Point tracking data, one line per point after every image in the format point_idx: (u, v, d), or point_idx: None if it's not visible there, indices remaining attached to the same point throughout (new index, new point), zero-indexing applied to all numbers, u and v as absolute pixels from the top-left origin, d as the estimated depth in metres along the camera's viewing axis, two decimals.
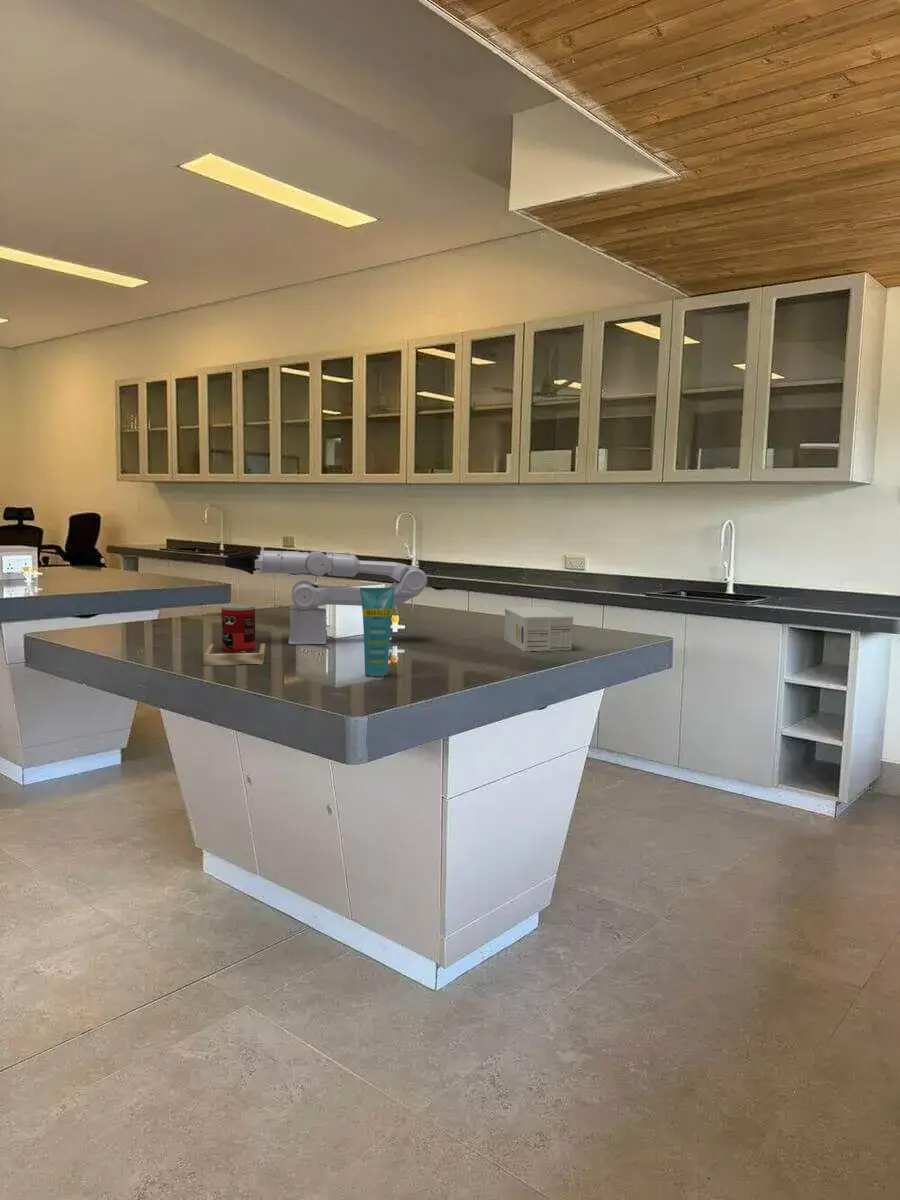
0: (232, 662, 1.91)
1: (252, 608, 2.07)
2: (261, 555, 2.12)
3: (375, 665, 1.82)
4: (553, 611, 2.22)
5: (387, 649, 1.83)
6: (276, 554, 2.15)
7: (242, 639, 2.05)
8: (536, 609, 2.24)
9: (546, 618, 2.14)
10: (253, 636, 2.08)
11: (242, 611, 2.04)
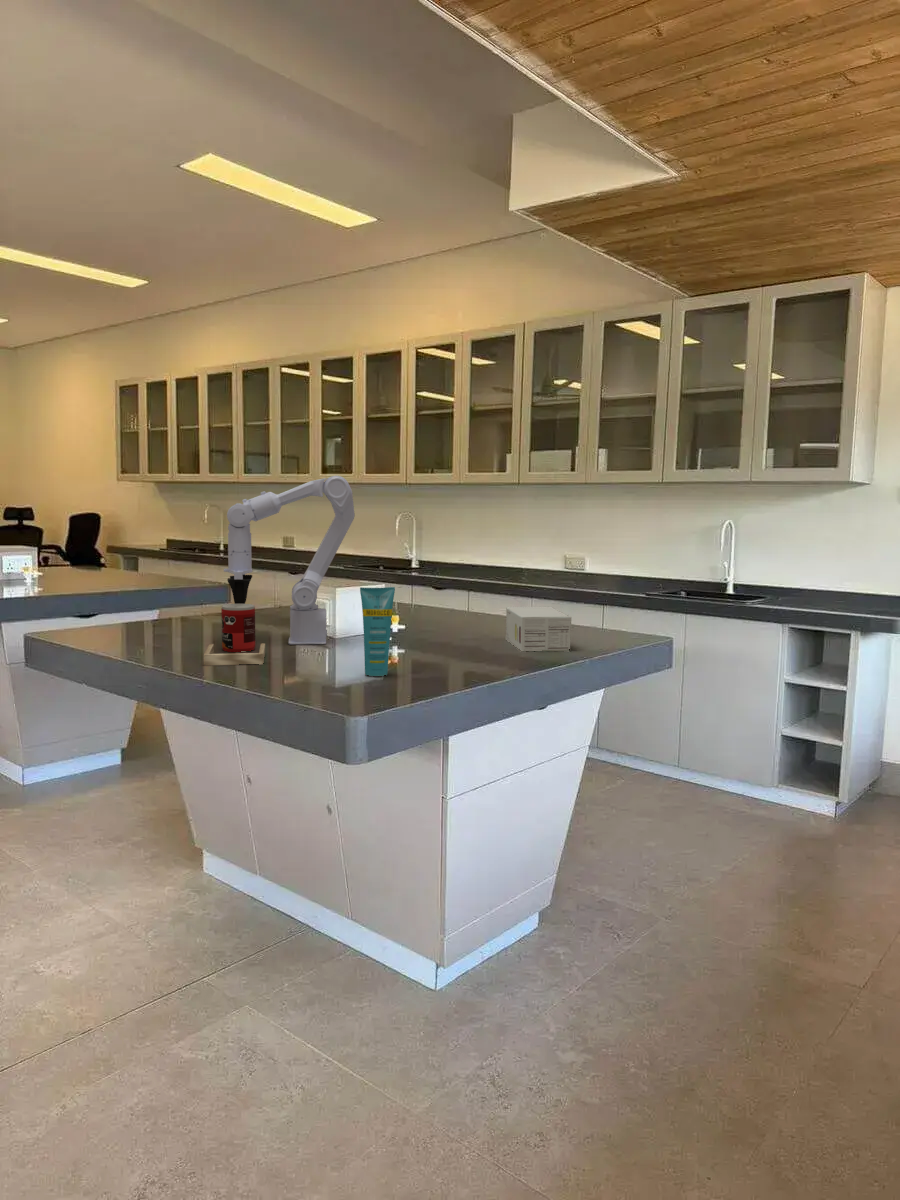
0: (232, 662, 1.91)
1: (252, 608, 2.07)
2: (231, 572, 2.11)
3: (375, 665, 1.82)
4: (553, 611, 2.22)
5: (387, 649, 1.83)
6: (230, 557, 2.13)
7: (242, 639, 2.05)
8: (537, 609, 2.24)
9: (544, 618, 2.13)
10: (253, 636, 2.08)
11: (242, 611, 2.04)
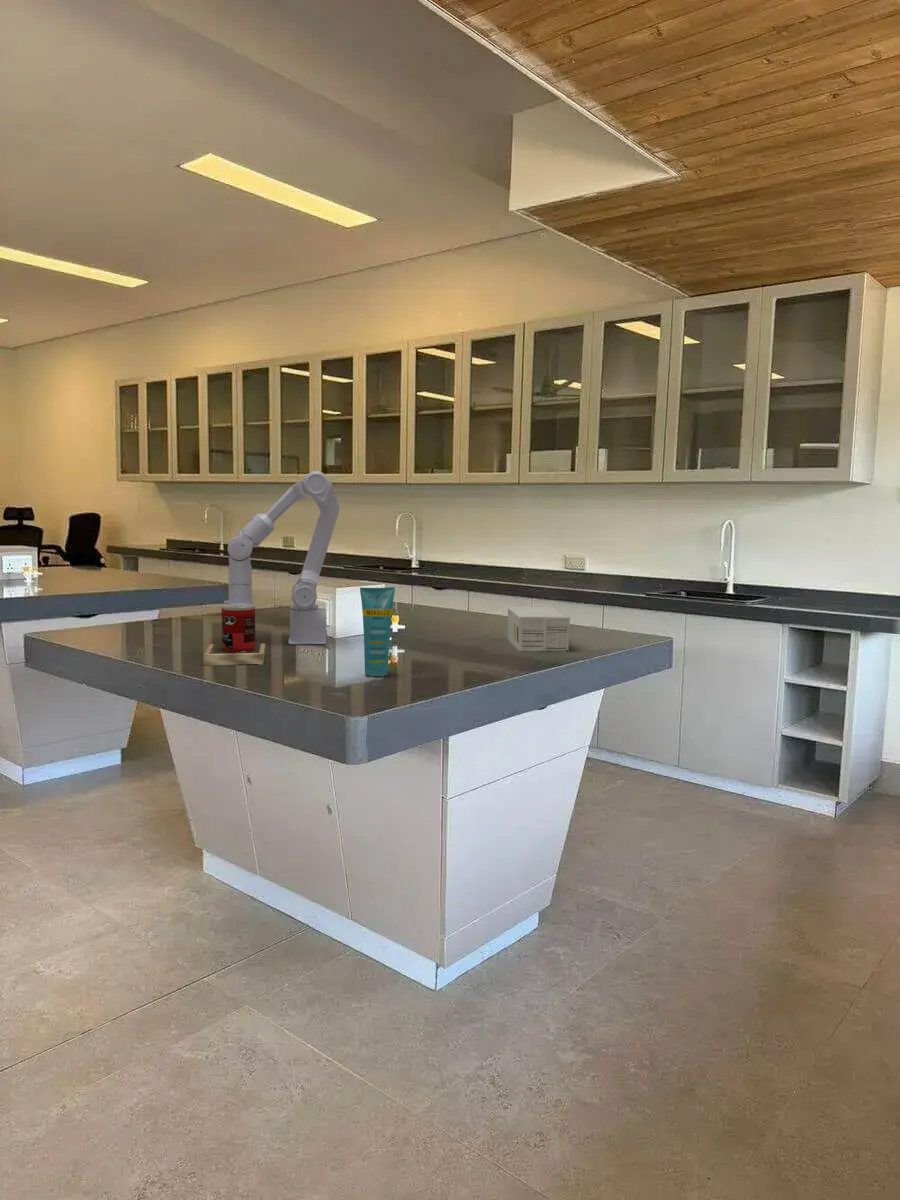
0: (232, 662, 1.91)
1: (252, 608, 2.07)
2: None
3: (375, 665, 1.82)
4: (553, 611, 2.21)
5: (387, 649, 1.83)
6: (231, 589, 2.14)
7: (242, 639, 2.05)
8: (537, 609, 2.24)
9: (541, 618, 2.13)
10: (253, 636, 2.08)
11: (242, 611, 2.04)
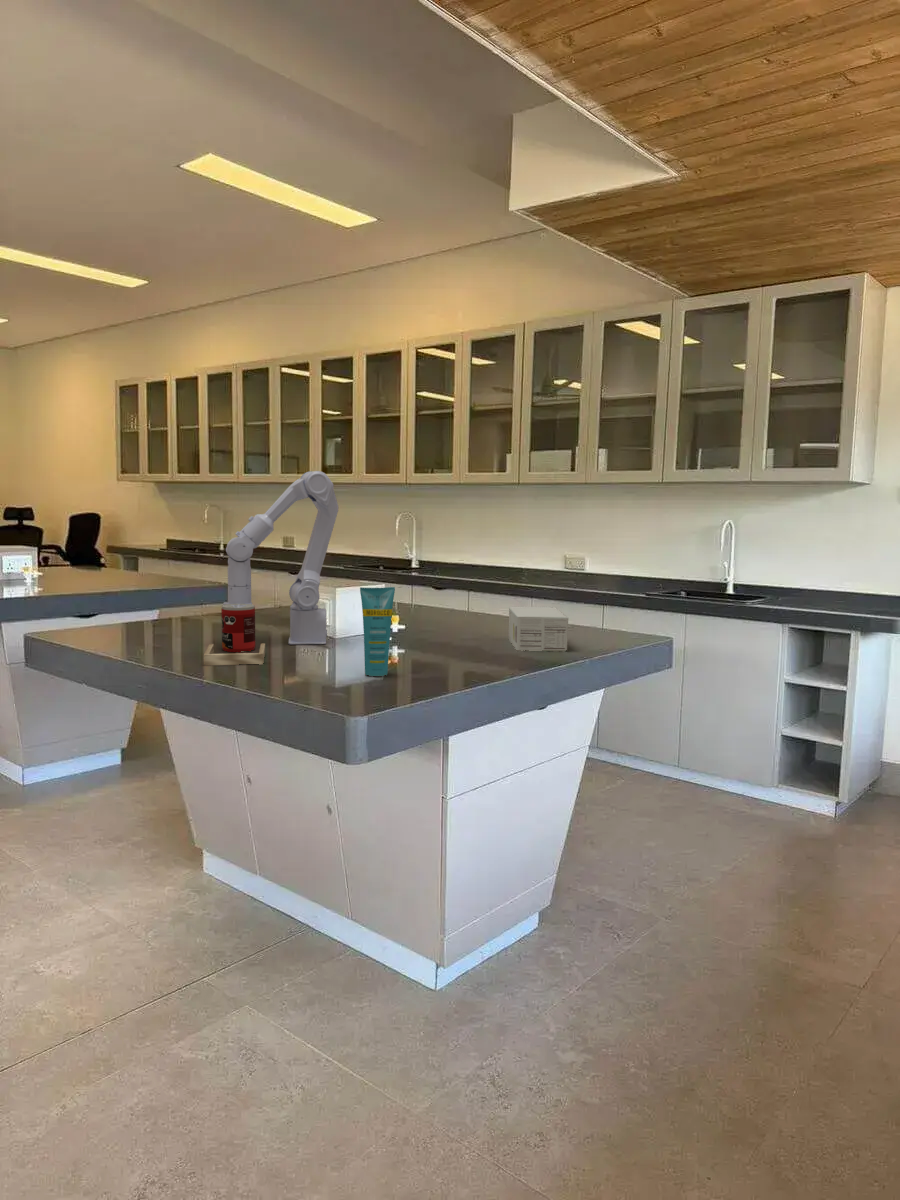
0: (232, 662, 1.91)
1: (252, 608, 2.07)
2: None
3: (375, 665, 1.82)
4: (553, 611, 2.21)
5: (387, 649, 1.83)
6: (230, 591, 2.11)
7: (242, 639, 2.05)
8: (538, 609, 2.24)
9: (540, 618, 2.13)
10: (253, 636, 2.08)
11: (242, 611, 2.04)
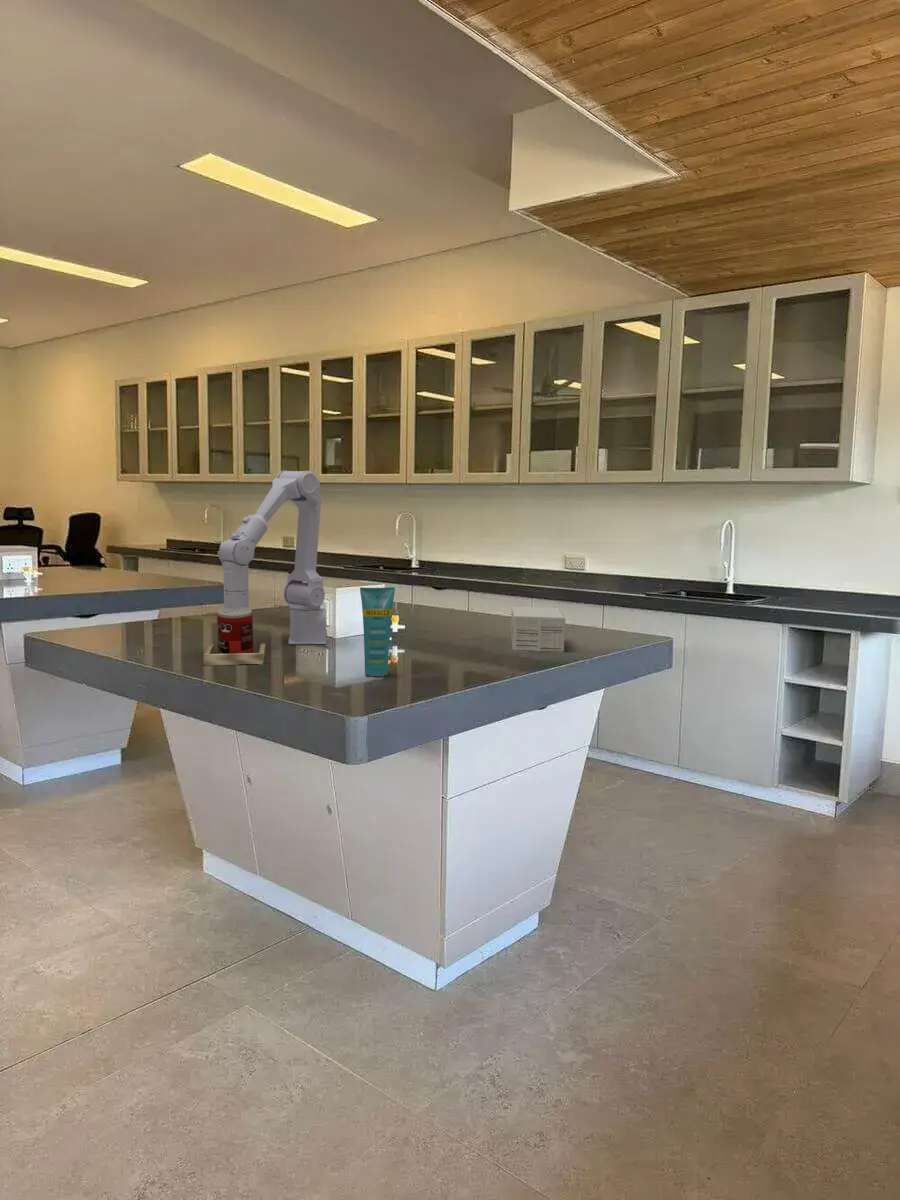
0: (232, 662, 1.91)
1: (249, 614, 1.96)
2: None
3: (375, 665, 1.82)
4: (553, 612, 2.21)
5: (387, 649, 1.83)
6: (226, 596, 2.00)
7: (239, 647, 1.95)
8: (539, 609, 2.24)
9: (536, 618, 2.13)
10: (251, 643, 1.98)
11: (239, 618, 1.94)
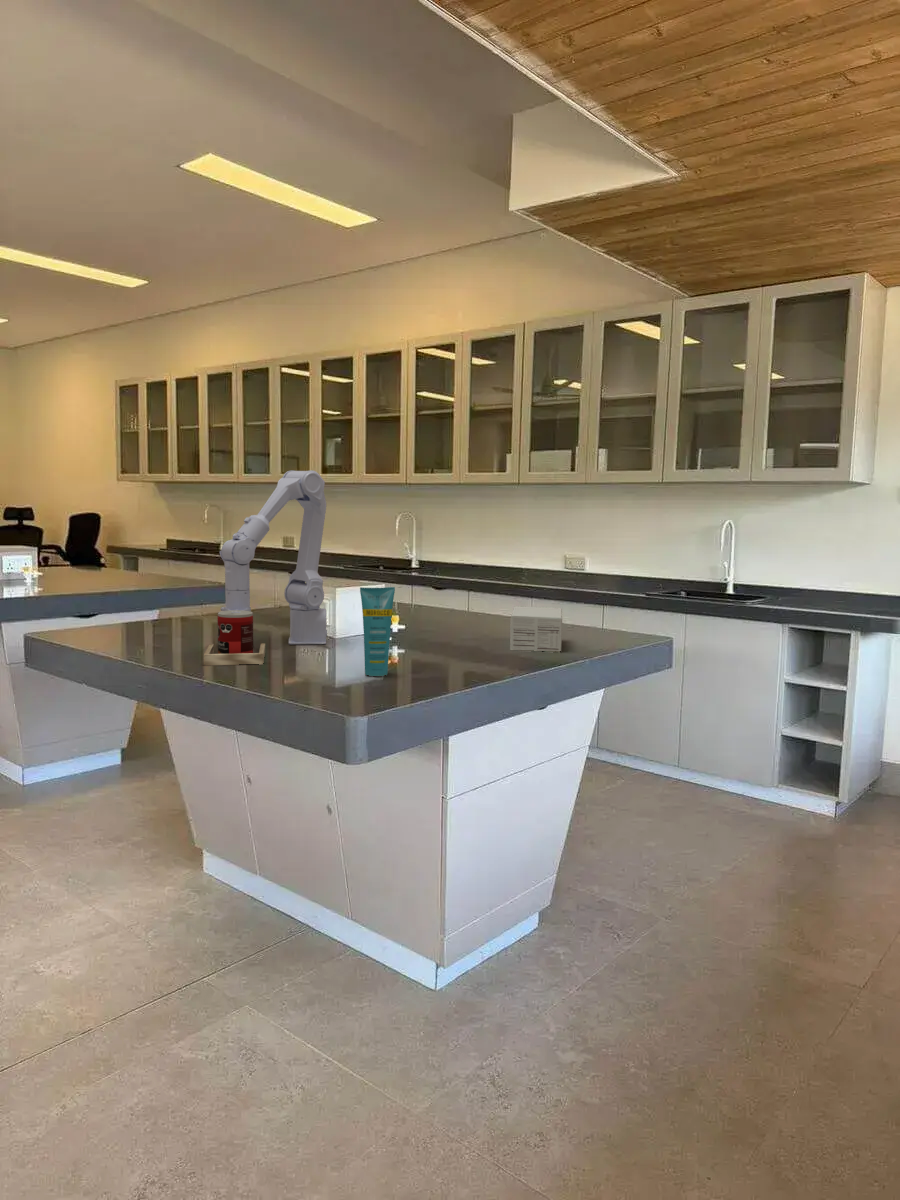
0: (232, 662, 1.91)
1: (250, 615, 1.95)
2: None
3: (375, 665, 1.82)
4: (553, 612, 2.20)
5: (387, 649, 1.83)
6: (228, 596, 2.03)
7: (239, 648, 1.94)
8: (539, 609, 2.24)
9: (533, 618, 2.13)
10: (251, 645, 1.97)
11: (239, 618, 1.93)
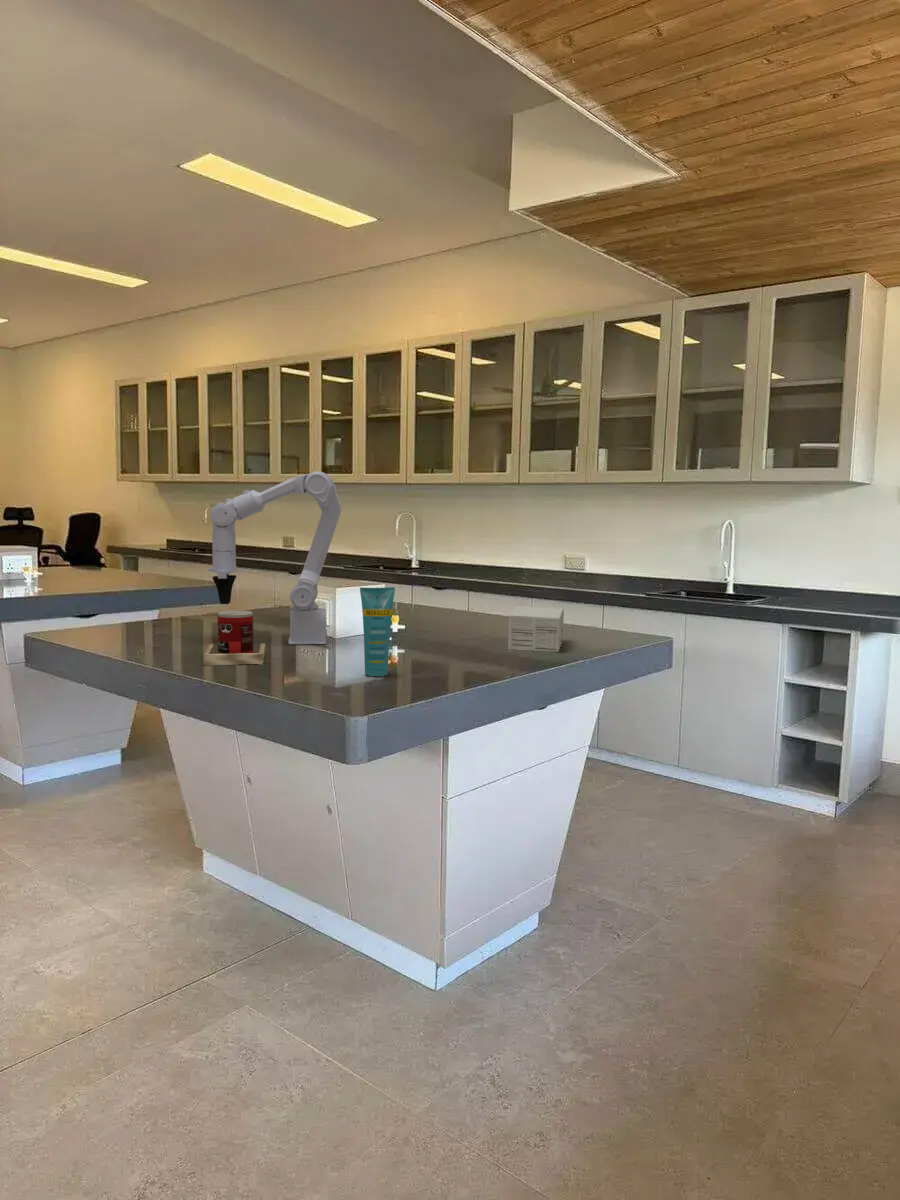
0: (232, 662, 1.91)
1: (250, 615, 1.95)
2: (215, 571, 2.13)
3: (375, 665, 1.82)
4: (552, 612, 2.20)
5: (387, 649, 1.83)
6: (215, 556, 2.14)
7: (239, 648, 1.94)
8: (540, 609, 2.24)
9: (531, 618, 2.14)
10: (251, 645, 1.97)
11: (239, 618, 1.93)
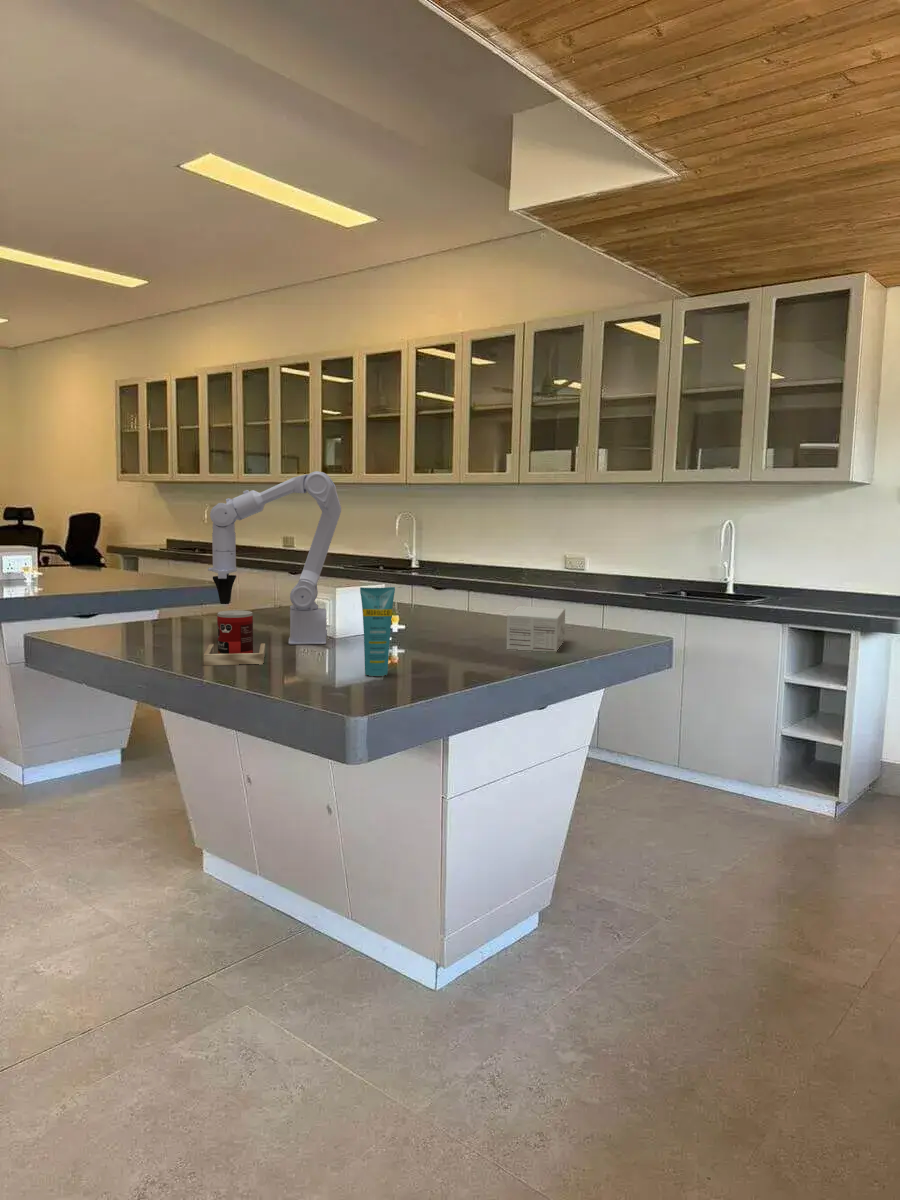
0: (232, 662, 1.91)
1: (249, 615, 1.95)
2: (215, 571, 2.13)
3: (375, 665, 1.82)
4: (552, 612, 2.20)
5: (387, 649, 1.83)
6: (215, 556, 2.14)
7: (239, 648, 1.94)
8: (540, 609, 2.24)
9: (529, 618, 2.14)
10: (251, 645, 1.97)
11: (239, 618, 1.93)
